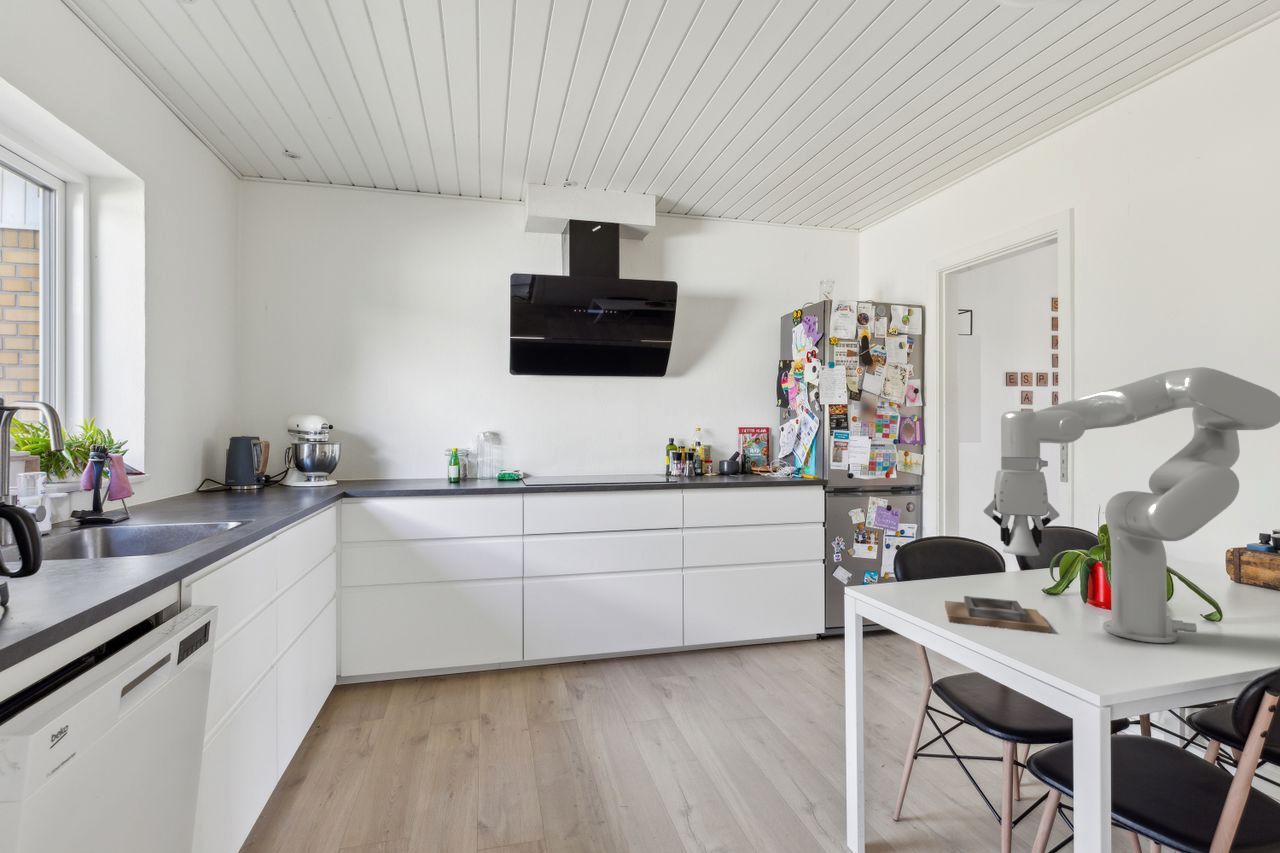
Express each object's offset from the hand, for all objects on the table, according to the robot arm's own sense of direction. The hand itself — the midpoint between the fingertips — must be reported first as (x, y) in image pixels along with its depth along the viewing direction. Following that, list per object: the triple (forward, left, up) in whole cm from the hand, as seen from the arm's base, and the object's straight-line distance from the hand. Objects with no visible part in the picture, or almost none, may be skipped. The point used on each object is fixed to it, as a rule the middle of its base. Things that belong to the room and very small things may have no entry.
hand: (1020, 544), depth 135 cm
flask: (0, 0, -2) cm, 2 cm away
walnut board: (+4, -7, -19) cm, 21 cm away
